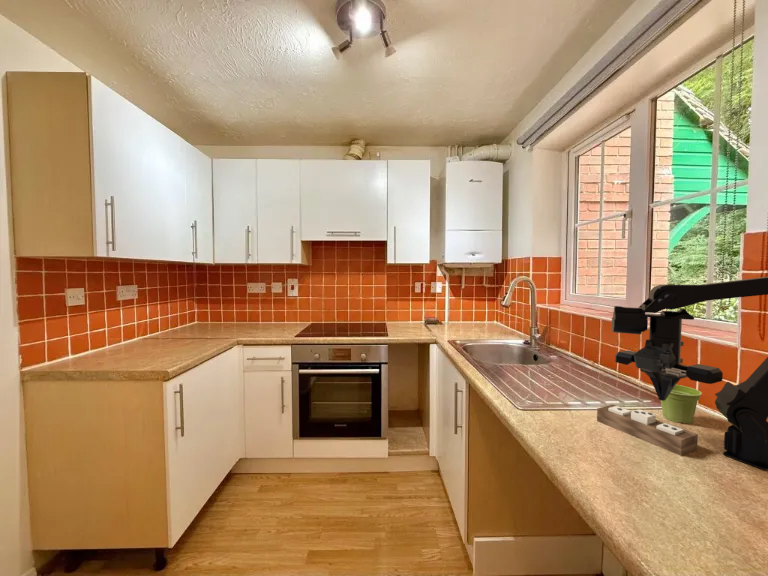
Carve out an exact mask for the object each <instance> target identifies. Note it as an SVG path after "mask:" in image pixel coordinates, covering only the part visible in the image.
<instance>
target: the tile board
mask: <svg viewBox="0 0 768 576" xmlns="http://www.w3.org/2000/svg"><path fill="white" fill-rule="evenodd" d="M614 406H618V405H615V404H609V405H605V406H603V407H598V408H597V409H596V412H597V413H596V421H597V422H599V423H602V424H604V425H606V426H609V427H611V428H612V429H613V428H614V429H616V430H618V431H620V432H623V433H625V434H628V435H631V436H632V437H636V438H638V439H640V440H642V441H645V442H647V443H650V444H652V445H654V446H656V447H659V448H661V449H664V450H667V451H669V452H671V453H674V454H676V455H679V456H681V457H682V456H683V455H686V454H689V453H691V452H693V451H696V450H698V446H699V445H698V444H699V443H698V441H699V440H698V439H699V434H698V433H696V432H692V431H690V430H687V429H684V428H682V427H679V426H675V425H673V424H669V423H667V422H664V421H662V420H659V419H656V423H654V424H650V425H646V424H643V423H640V422H638V421H635V420H632V419H631V414H629V415H626V416H622V415H619V414H616V413H613V412H611V411H608V408H610V407H614ZM618 407H621V406H618ZM621 408H624V407H621ZM624 409H626V408H624ZM663 423H666V424H669V425H672V426H675V427H678V428H681V429H683V433H682V434H679V435H677V436H675V435H673V434H670V433H667V432H665V431H662V430H659V429H656V426H657V425H660V424H663Z"/></svg>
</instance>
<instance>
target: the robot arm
mask: <svg viewBox="0 0 768 576" xmlns="http://www.w3.org/2000/svg"><path fill="white" fill-rule="evenodd" d="M767 295H768V276H762V277H753V278H746V279H739V280H738V279H737V280H729V281H720V282H713V283H711V282H710V283H705V284H704V283H703V284H659V285H655V286H654V287H652V288H651V289H650V290H649V293H648V298H647V299H646V300H645V301H643V302H642V303H641V304H640V306H638V307H627V306H622V305H621V306H620V305H615V306H613V314H612V317H611V330H612V331H611V332H612V333H618V334H629V335H641V334H642V332H643V333H644V332H646V331H647V330H648V331H649V333H648V338H647V339H645V343H644V346H643V348H640V349H639V350H637V351H633V350H622V351H618V352H616V354H615V355H614V357H615V358H614V362H615V363H617V364H622V365H625V366H628V365H631V364H632V363H635V367H636V368H638V369H639V370H640V372H643V373H644V374H645V375H647V377H648V378H649V379H650V380H651V383H652V385H653V387H654V390H655V393H656V396H657V398H658V400H659V401H661V400H662V401H665V400H666V398H667V397H668V395H669V394H670V392H671V391H672V389H673V388H674V386H675V385H678V383H679V382H680V380H681V379H687V378H688V379H689V380H690V381H694V382H697V383H698V382H699V383H702V384H708V385H709V384H710V385H712V384H713V385H714V384H717V383H720V382H723V374H724V373H723V371H722V370H721V368H719V367H715V366H710V365H705V364H699V363H698V364H693V365H692V364H691V365H684V364H682V363H683V361H684V359H683V358H681V352H682V348H681V347H684V341H682V329H683V328H682V326H683V325H682V324H683V320H691V321H692V320H694V319H695V316H694V315H692V314H690V313H689V312H688V310H687V309H686V308H684V307H690V306H693V305H696V304H699V303H703V302H709V301H716V300H717V301H718V300H726V299H738V298H747V297H755V296H756V297H757V296H767ZM677 309H678V310H677ZM674 310H675V311H674ZM658 312H660V313H659V314H657V313H658ZM648 320H649V323H648ZM648 324H649V328H648ZM714 395H715V397H716V398H715V400H714V405H715V406H716V409H717V410H718V412H719V413H720V414H721V415H722V416H724V417H725V418H726V420H727V422H728V423H730V424H731V425H729V426H728V427H727V431H724V440H723V442H724V443H723V450H725V451H723V453H722V454H723V456H725V457H728V458H731V459H734V460H736V461H739V462H742V463H744V464H747V465H750V466H751V467H756V468H758V469H760V470H764V471H768V421H767V420H768V356H767V357H766V358H765V359H764V360H763V361H762V362H761V363H760V365H759V366H758V367H757V368H756V369H755V370H754V371H753V372H752V373H751V374H750V375H749V377H748V378H747V379H746V380H745V381H742V382H739V383H738V384H735V385H734V384H733V383H731V382H729V381H727V382H726V383H724V385H723V387H722V388H721V390H720V391H718V392H716V393H715V394H714Z"/></svg>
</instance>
